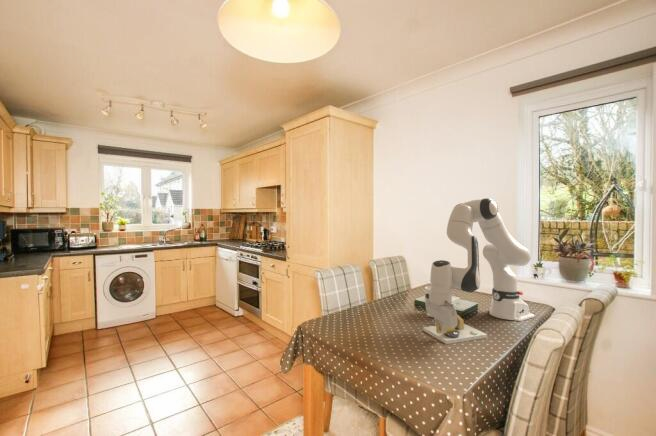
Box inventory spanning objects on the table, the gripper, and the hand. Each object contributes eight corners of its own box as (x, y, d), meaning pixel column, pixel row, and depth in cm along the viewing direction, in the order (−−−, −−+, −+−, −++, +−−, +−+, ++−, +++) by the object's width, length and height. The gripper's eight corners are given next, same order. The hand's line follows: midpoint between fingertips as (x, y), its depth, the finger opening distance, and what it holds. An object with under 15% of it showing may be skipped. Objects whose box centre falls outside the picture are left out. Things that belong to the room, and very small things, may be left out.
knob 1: (453, 331, 137) (453, 319, 137) (462, 336, 132) (462, 324, 131) (433, 333, 135) (433, 321, 135) (441, 339, 129) (441, 326, 129)
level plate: (460, 325, 150) (460, 320, 150) (487, 337, 135) (487, 332, 135) (423, 330, 143) (423, 325, 143) (446, 344, 128) (446, 339, 128)
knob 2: (448, 324, 147) (448, 313, 146) (461, 324, 146) (461, 313, 146) (454, 332, 137) (454, 320, 136) (468, 333, 136) (468, 320, 136)
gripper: (461, 305, 123) (461, 339, 123) (435, 292, 143) (435, 321, 143) (447, 305, 122) (447, 340, 122) (423, 292, 142) (422, 322, 142)
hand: (440, 330), depth 133 cm, fingers open, 2 cm apart
